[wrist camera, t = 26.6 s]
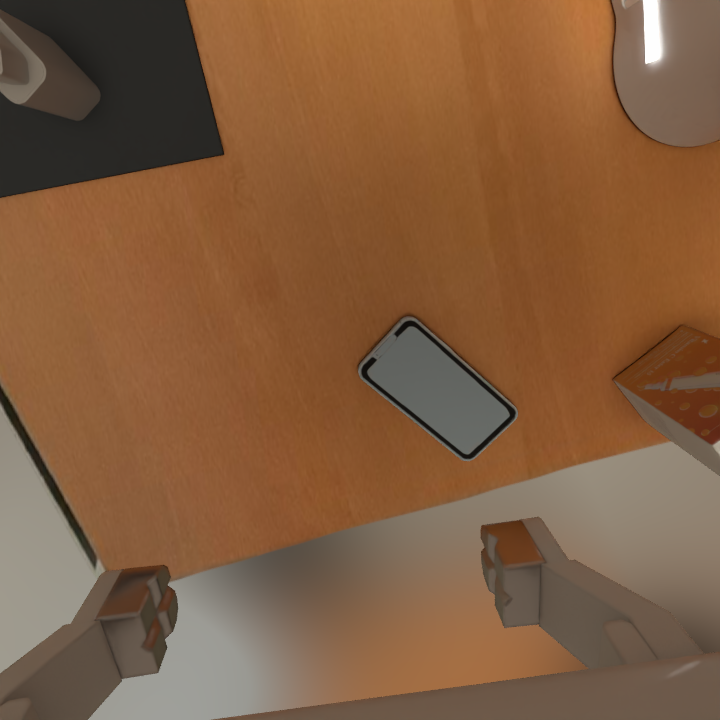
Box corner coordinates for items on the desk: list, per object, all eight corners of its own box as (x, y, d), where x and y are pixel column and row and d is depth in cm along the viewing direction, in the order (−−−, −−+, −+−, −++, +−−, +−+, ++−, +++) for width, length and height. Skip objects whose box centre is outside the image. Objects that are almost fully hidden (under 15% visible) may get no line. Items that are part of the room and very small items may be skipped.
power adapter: (42, 29, 34) (-103, -55, 22) (105, 95, 35) (-2, 48, 24) (14, 62, 34) (-141, -3, 23) (77, 125, 36) (-39, 94, 24)
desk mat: (168, -65, 33) (166, -68, 32) (224, 154, 37) (223, 154, 37) (-120, -10, 33) (-125, -12, 32) (-28, 202, 37) (-32, 203, 37)
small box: (681, 322, 44) (816, 371, 32) (713, 369, 46) (853, 432, 34) (609, 379, 46) (711, 446, 33) (642, 422, 48) (752, 501, 35)
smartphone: (467, 465, 47) (353, 373, 43) (465, 460, 48) (352, 370, 44) (522, 413, 45) (409, 312, 41) (519, 409, 46) (408, 310, 42)
